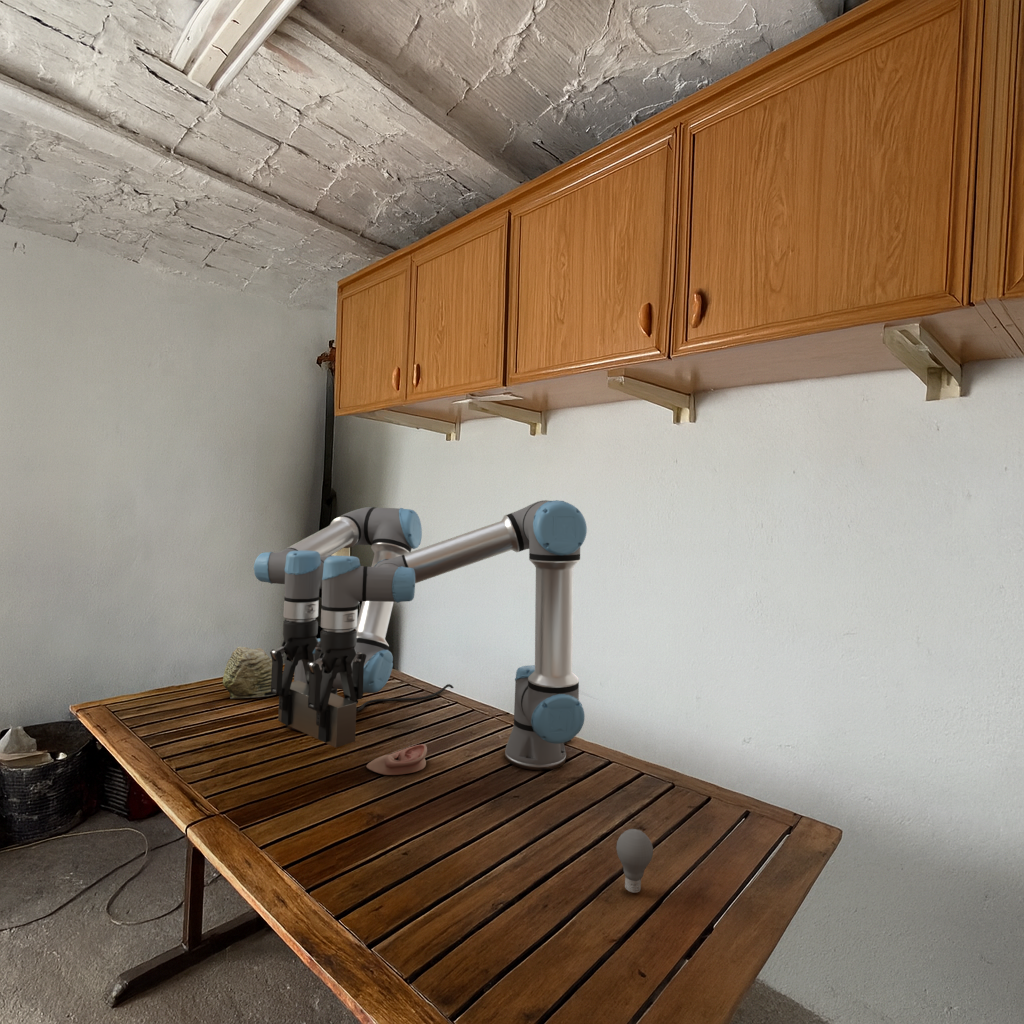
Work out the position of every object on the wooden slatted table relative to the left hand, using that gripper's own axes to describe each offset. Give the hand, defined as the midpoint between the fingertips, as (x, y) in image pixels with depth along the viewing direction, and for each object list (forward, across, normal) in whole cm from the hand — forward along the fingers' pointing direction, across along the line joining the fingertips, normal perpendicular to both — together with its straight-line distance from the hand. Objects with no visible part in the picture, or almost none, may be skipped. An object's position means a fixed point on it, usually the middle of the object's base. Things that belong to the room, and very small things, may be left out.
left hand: (297, 720), depth 145 cm
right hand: (0, 0, -14) cm, 14 cm away
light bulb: (+12, +13, -79) cm, 81 cm away
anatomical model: (+12, +18, -14) cm, 26 cm away
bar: (+1, 0, -7) cm, 7 cm away
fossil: (+12, +22, +58) cm, 63 cm away
